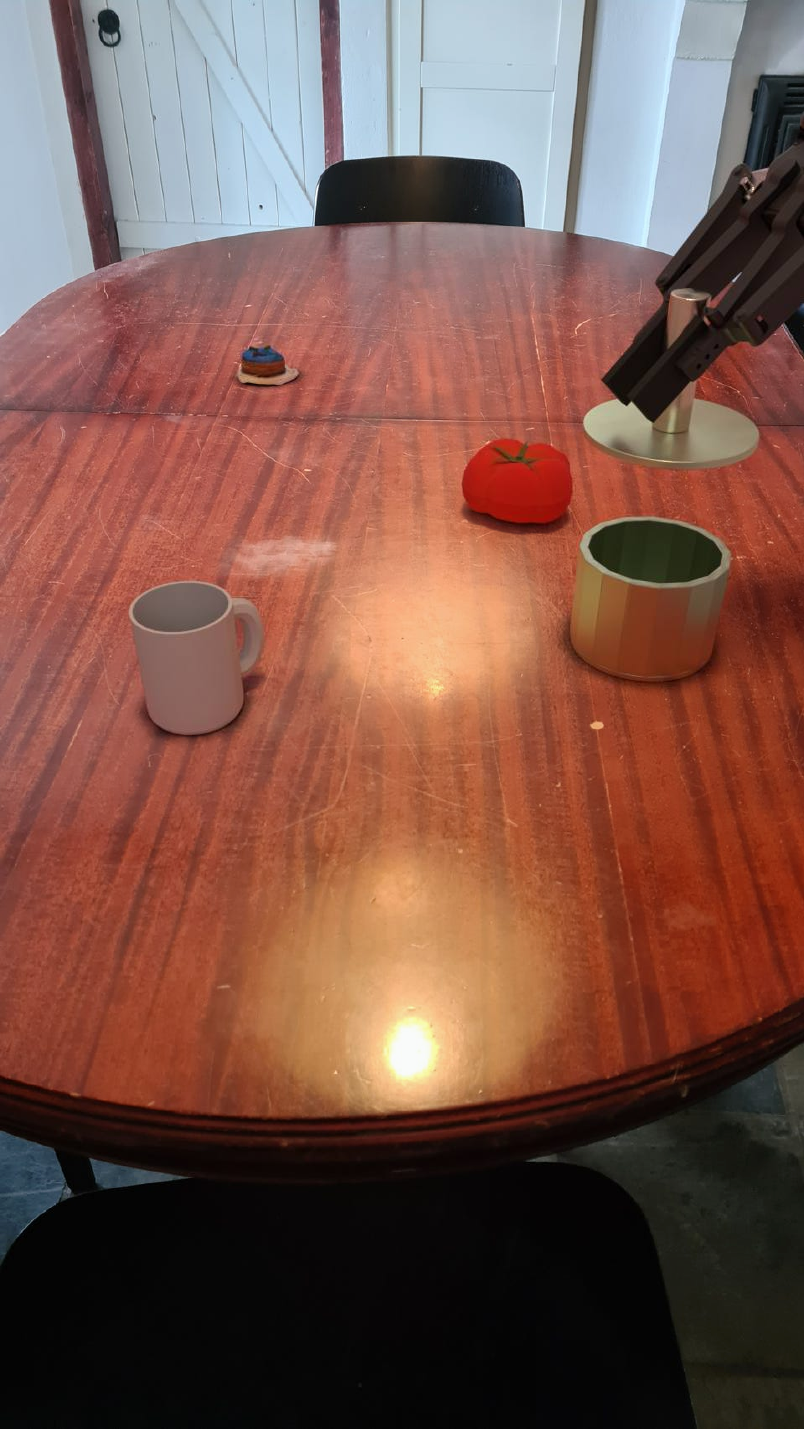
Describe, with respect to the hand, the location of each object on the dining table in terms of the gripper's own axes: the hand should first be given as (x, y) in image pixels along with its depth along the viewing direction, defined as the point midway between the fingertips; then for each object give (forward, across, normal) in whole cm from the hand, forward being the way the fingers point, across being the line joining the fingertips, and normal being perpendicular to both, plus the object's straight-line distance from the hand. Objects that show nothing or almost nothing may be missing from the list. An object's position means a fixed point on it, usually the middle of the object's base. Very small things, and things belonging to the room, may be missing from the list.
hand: (627, 400), depth 70 cm
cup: (+36, +6, +6) cm, 37 cm away
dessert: (+19, +74, -11) cm, 77 cm away
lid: (-1, 0, -5) cm, 5 cm away
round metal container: (+12, +1, -18) cm, 22 cm away
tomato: (+11, +26, -20) cm, 34 cm away
